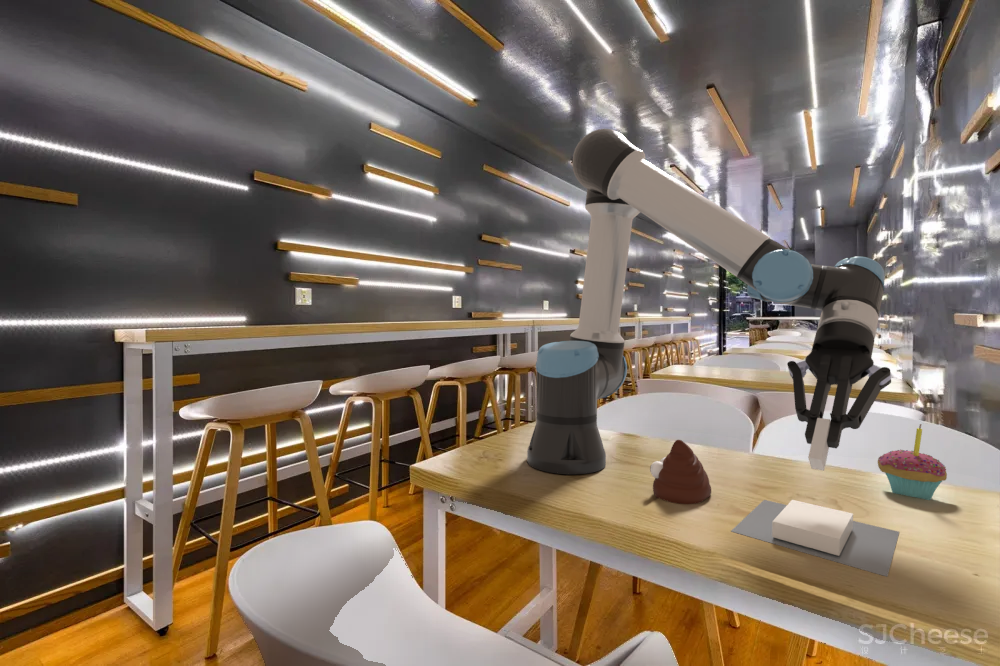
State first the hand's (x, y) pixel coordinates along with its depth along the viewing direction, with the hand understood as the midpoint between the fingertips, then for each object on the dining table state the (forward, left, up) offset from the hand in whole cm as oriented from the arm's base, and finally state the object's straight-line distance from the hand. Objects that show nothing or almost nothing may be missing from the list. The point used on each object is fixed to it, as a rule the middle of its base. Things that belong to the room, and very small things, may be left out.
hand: (816, 463), depth 64 cm
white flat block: (0, +2, -7) cm, 8 cm away
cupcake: (+8, +26, -9) cm, 29 cm away
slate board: (0, -2, -9) cm, 9 cm away
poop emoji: (-18, 0, -9) cm, 20 cm away
